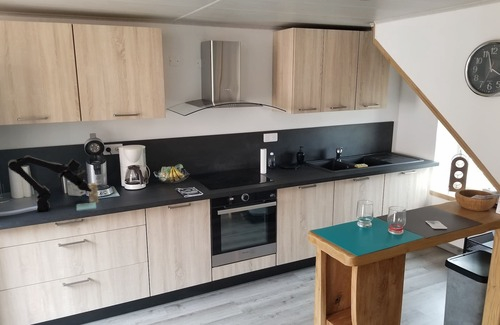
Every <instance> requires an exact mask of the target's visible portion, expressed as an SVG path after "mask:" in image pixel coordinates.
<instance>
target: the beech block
mask: <svg viewBox="0 0 500 325" xmlns="http://www.w3.org/2000/svg"><path fill="white" fill-rule="evenodd" d="M87 186H88V187H89V188H90V189H91V190H92V191H91V192H89V191H88V200H89V202H88V203H94V202H96V204H97V203H99V191H98V184H97V183H96V182H92V183H87Z"/></svg>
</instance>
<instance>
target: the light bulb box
mask: <svg viewBox="0 0 500 325" xmlns="http://www.w3.org/2000/svg"><path fill="white" fill-rule="evenodd" d="M83 180H84V181H85V179H83ZM85 182H86V181H85ZM66 184H67V185H66V186H67V194H68V196H75V197H76V196H77V197H81V196H83V195H86V194H87V193H86V192H87V191H84V190H80V189H78V188H77V186H76V185H75V184H73V183H72V182H70V181H69V180H67V181H66Z"/></svg>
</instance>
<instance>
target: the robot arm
mask: <svg viewBox="0 0 500 325" xmlns="http://www.w3.org/2000/svg"><path fill="white" fill-rule="evenodd" d="M29 163H30V164H33V165H36V166H39V167H44V168H46V169H48V170H51V171H53V172H54V173H57V174H58V178H59V179H63V178H65V179H66V180H67V181H70V182H72V183H73V184H75V185H76V186H77V188H78V189H80V190H84V191H86V192H88V193H89V192H91V191H92V190H91V189H90V188H89V187H88V183H87V181H84V180H85V179H84V178H85V177H87V176H88V175H89V174H88V173H87V171H86V170H85V169H79V168H80V167H81V166H82V164H81V163H80V162H78V160H75V159H74V158H72V159H71V160H70V161H69V162H68V163H67V164H61V163H59V162H53V161H47V160H43V159H41V158H36V157H33V156H31V155H25V156H23V157H18V158H16V159H10V160H9V161H8V162H7V165H8V168H9V169H10V170H11V171H12V172H14V173H15V174H17V175H19V176H20V177H21V178H22V179H23V180H25V181H26V183H28V184H29V185H30V186H31V187H32V189H34V190H35V191H36V193H37V194H38V195H37V196H36V197H35V198H36V207H37V211H36V213H42V212H49V211H50V209H51V208H50V207H51V206H50V202H49V199H50V198H51V190H50V189H49V188H47V187H46V186H45V185H41V184H39V183H38V181H36V180H35V179H34V178H33V176H31V175H30V174H29V173H28V172H27V171H26V170H25V169H24V168H23V166H25V165H27V164H29ZM78 169H79V170H78ZM77 170H78V173H74V172H77Z"/></svg>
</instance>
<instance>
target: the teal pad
mask: <svg viewBox="0 0 500 325" xmlns="http://www.w3.org/2000/svg"><path fill="white" fill-rule="evenodd" d="M96 209H97V203H96V202H94V203H90V202H87V203H86V202H85V203H77V204H76V212H80V211H87V210H88V211H89V210H96Z"/></svg>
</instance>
